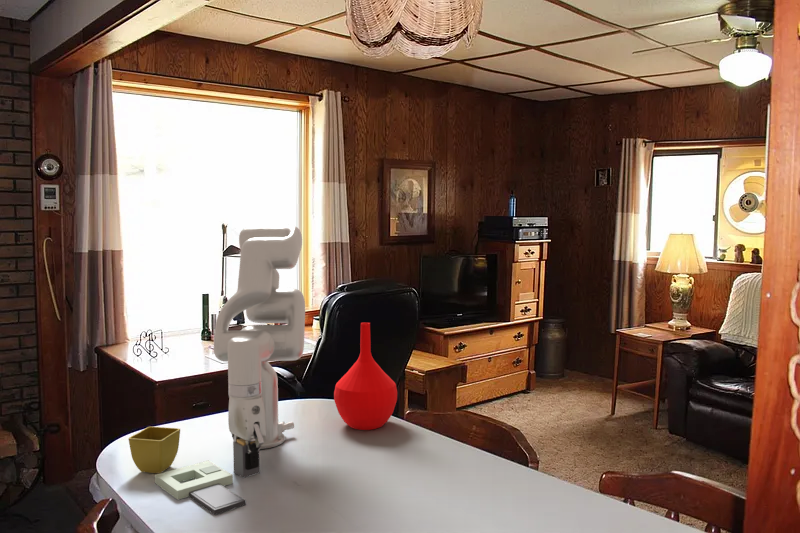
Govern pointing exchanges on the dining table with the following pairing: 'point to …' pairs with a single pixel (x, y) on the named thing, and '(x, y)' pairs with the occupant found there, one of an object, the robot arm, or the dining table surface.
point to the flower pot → (154, 448)
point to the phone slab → (217, 498)
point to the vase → (365, 390)
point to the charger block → (242, 459)
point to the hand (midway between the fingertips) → (246, 464)
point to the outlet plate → (202, 474)
